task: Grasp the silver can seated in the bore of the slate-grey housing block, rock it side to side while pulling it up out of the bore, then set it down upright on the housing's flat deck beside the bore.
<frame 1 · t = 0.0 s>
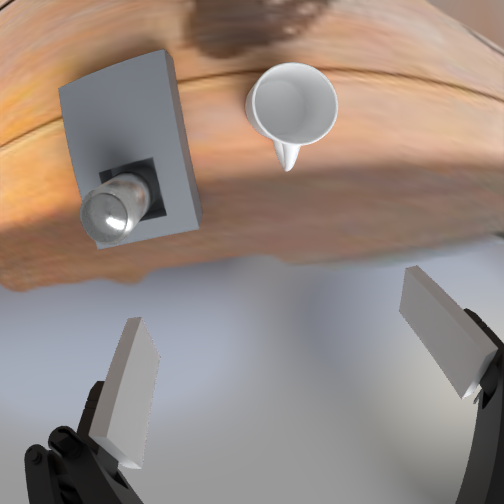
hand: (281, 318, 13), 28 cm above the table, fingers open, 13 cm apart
mug: (277, 120, 35), on the table
silver can: (140, 186, 35), point 2 cm above the table, touching housing
housing: (136, 148, 35), on the table
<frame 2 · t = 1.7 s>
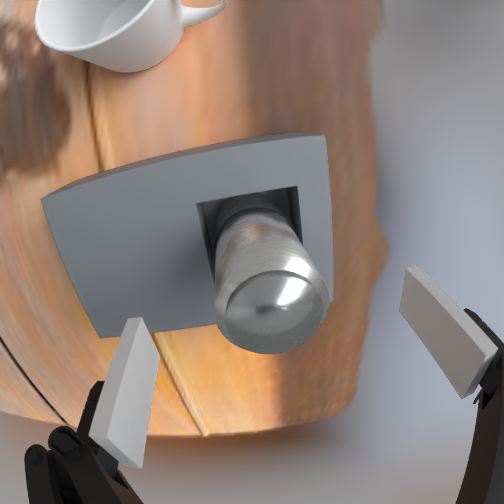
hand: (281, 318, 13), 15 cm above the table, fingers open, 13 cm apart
mug: (158, 29, 18), on the table
silver can: (249, 222, 25), point 2 cm above the table, touching housing
housing: (194, 225, 27), on the table
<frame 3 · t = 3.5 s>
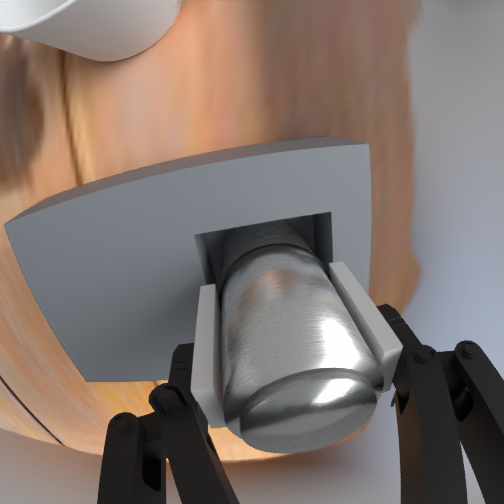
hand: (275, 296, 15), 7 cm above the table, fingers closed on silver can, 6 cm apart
mug: (148, 8, 13), on the table
silver can: (263, 251, 20), point 2 cm above the table, touching gripper, housing
housing: (194, 251, 22), on the table
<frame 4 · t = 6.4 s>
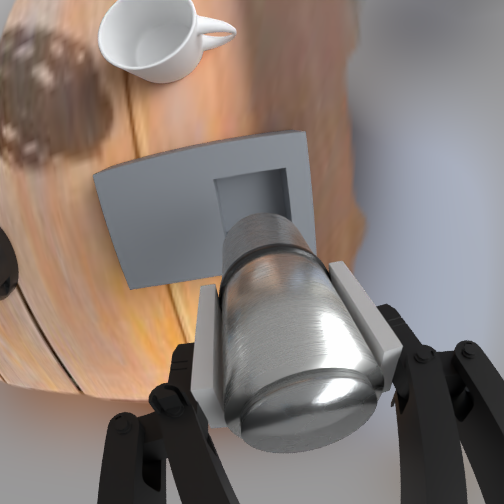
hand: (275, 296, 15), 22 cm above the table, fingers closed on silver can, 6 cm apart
mug: (182, 50, 26), on the table
silver can: (263, 251, 20), point 16 cm above the table, touching gripper
housing: (209, 200, 34), on the table
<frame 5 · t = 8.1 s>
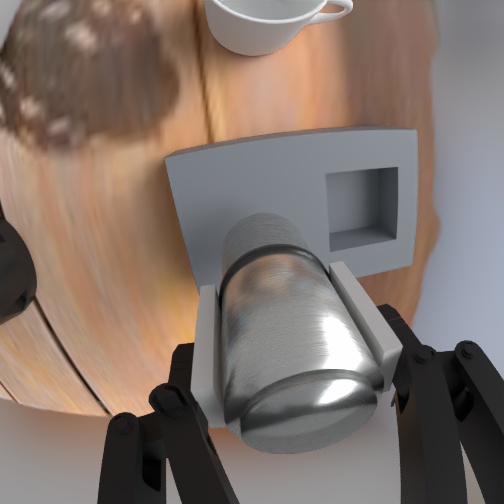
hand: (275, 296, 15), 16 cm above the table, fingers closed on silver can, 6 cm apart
mug: (269, 22, 21), on the table
silver can: (263, 252, 20), point 11 cm above the table, touching gripper
housing: (296, 198, 29), on the table
when the fingers open (12 cm above the table, at t = 9.5 s): silver can stays where it is, resting on housing.
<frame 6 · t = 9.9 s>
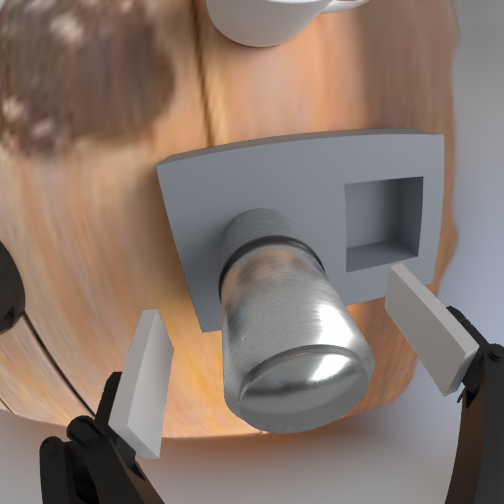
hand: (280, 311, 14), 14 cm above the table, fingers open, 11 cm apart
mug: (277, 10, 18), on the table
silver can: (260, 246, 21), point 6 cm above the table, touching housing
housing: (307, 209, 26), on the table
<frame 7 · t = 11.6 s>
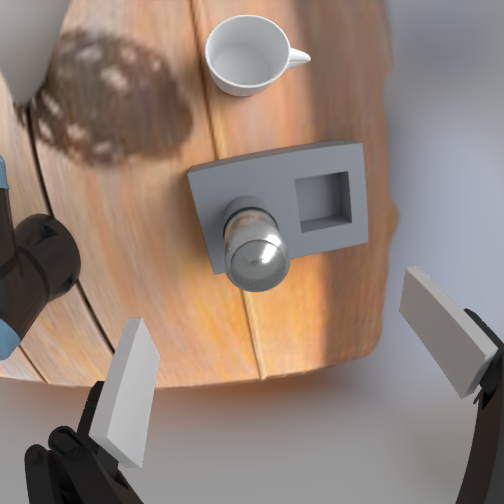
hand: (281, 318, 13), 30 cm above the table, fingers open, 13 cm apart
mug: (254, 68, 33), on the table
silver can: (247, 217, 36), point 6 cm above the table, touching housing
housing: (279, 197, 41), on the table
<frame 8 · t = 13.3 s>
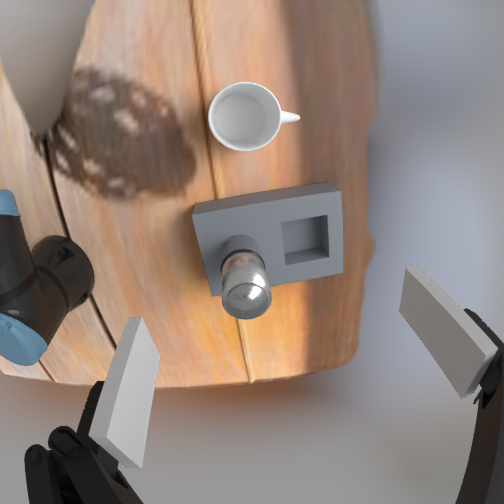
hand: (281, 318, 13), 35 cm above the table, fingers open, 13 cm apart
mug: (251, 117, 41), on the table
silver can: (240, 251, 43), point 6 cm above the table, touching housing
housing: (268, 231, 49), on the table
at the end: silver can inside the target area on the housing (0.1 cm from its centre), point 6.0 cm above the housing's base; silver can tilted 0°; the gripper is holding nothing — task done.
